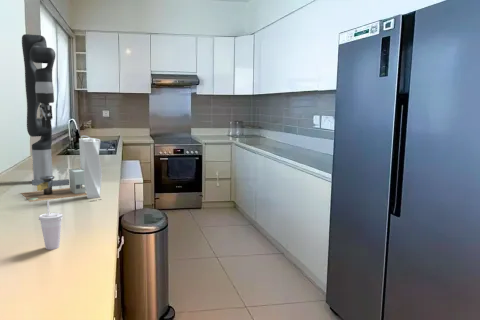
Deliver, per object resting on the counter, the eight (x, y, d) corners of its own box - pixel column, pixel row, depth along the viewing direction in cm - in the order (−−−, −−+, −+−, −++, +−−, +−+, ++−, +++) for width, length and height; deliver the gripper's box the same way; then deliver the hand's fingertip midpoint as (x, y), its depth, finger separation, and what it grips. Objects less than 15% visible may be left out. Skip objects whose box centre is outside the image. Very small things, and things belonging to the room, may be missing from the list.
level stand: (70, 190, 203) (69, 169, 202) (79, 189, 206) (78, 168, 204) (76, 194, 195) (75, 172, 194) (86, 193, 197) (85, 171, 196)
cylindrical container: (100, 190, 209) (98, 138, 206) (89, 193, 203) (87, 139, 199) (89, 189, 212) (87, 137, 209) (78, 192, 206) (75, 138, 202)
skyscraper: (85, 202, 186) (82, 136, 182) (82, 198, 192) (79, 134, 188) (104, 200, 189) (101, 135, 185) (101, 196, 196) (98, 134, 192)
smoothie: (45, 244, 131) (42, 198, 129) (67, 243, 132) (64, 198, 130) (37, 251, 125) (34, 203, 123) (60, 250, 125) (57, 203, 124)
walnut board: (21, 195, 198) (20, 192, 198) (75, 189, 211) (75, 187, 211) (29, 204, 181) (29, 201, 181) (88, 197, 194) (88, 194, 194)
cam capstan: (20, 198, 186) (18, 180, 185) (34, 191, 200) (33, 175, 199) (59, 197, 187) (58, 180, 186) (70, 190, 201) (69, 175, 200)
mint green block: (33, 198, 187) (33, 197, 187) (38, 198, 186) (38, 197, 186) (28, 199, 184) (28, 199, 184) (33, 200, 183) (33, 199, 183)
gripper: (32, 92, 203) (34, 127, 205) (38, 92, 191) (41, 129, 193) (49, 92, 207) (51, 126, 209) (57, 92, 195) (58, 128, 198)
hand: (46, 128), depth 201 cm, fingers open, 8 cm apart
